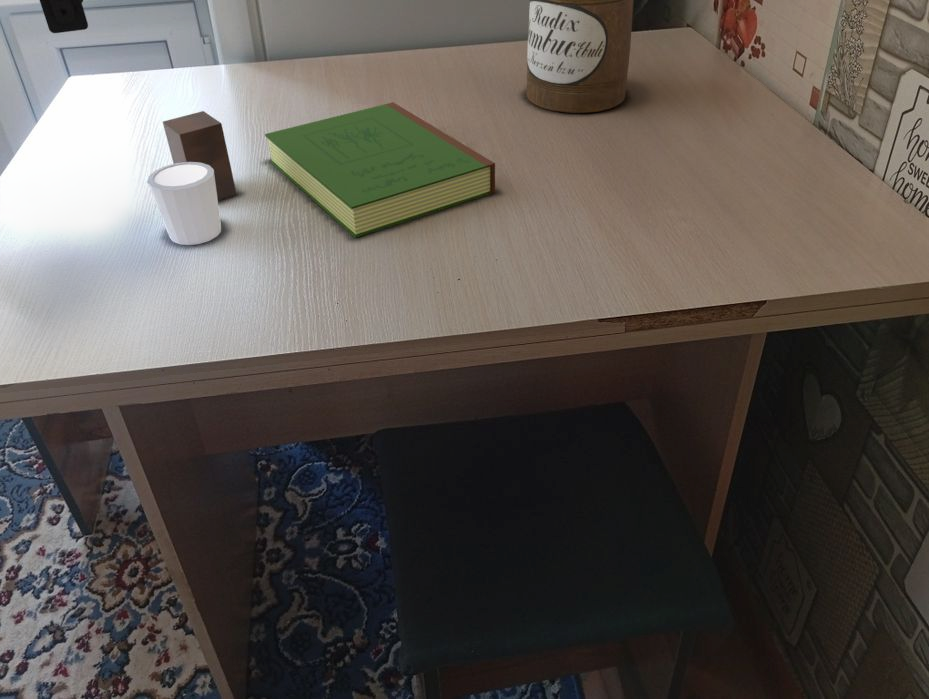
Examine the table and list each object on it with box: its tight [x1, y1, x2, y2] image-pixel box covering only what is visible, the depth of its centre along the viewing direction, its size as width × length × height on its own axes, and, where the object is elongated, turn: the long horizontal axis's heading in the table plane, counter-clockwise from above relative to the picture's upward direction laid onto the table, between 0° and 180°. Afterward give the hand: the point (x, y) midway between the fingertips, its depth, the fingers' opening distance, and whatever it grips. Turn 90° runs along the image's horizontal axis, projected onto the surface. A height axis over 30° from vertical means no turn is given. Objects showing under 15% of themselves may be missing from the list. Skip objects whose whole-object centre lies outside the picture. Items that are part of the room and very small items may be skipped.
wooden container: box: [526, 0, 635, 114], centre depth 112 cm, size 15×15×22 cm
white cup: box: [147, 162, 222, 246], centre depth 86 cm, size 7×7×7 cm
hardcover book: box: [264, 101, 496, 239], centre depth 97 cm, size 25×19×4 cm
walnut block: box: [162, 110, 238, 202], centre depth 92 cm, size 5×5×9 cm
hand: (68, 16), depth 73 cm, fingers open, 9 cm apart
